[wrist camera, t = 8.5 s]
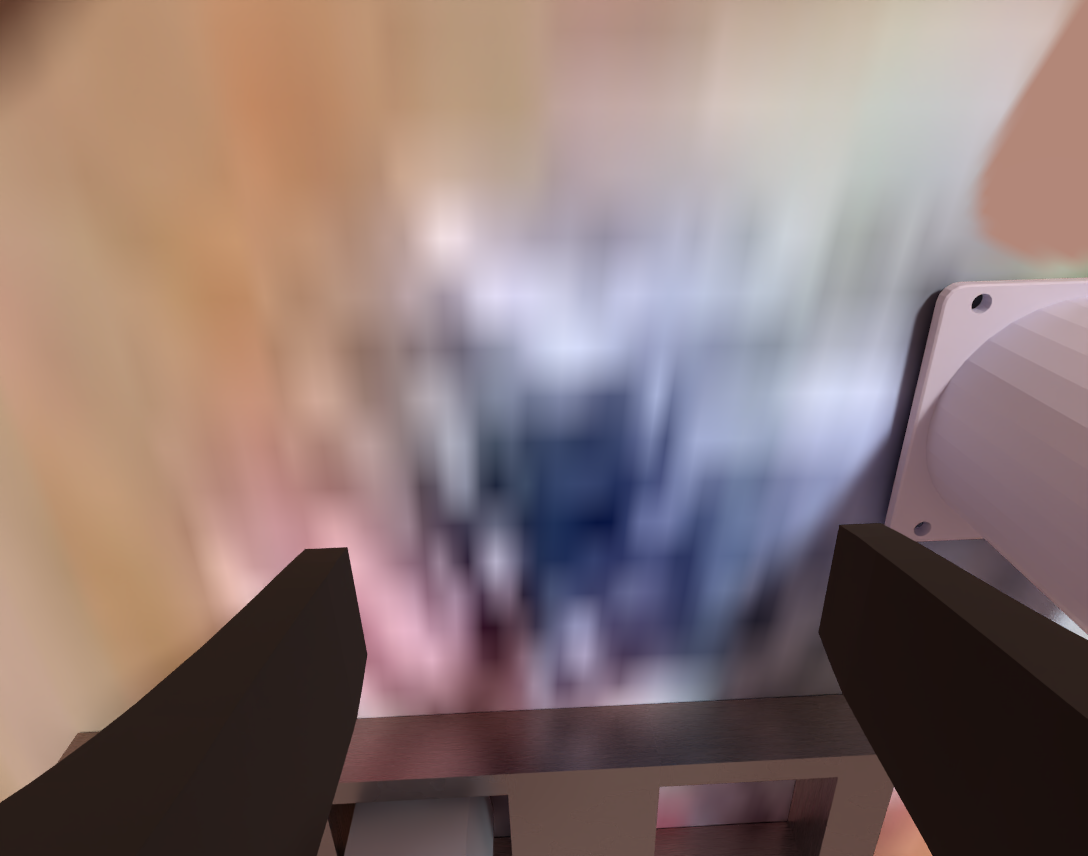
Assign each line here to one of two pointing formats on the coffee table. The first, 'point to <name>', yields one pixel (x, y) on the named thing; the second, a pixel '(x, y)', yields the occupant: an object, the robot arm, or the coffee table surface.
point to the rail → (626, 774)
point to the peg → (423, 828)
